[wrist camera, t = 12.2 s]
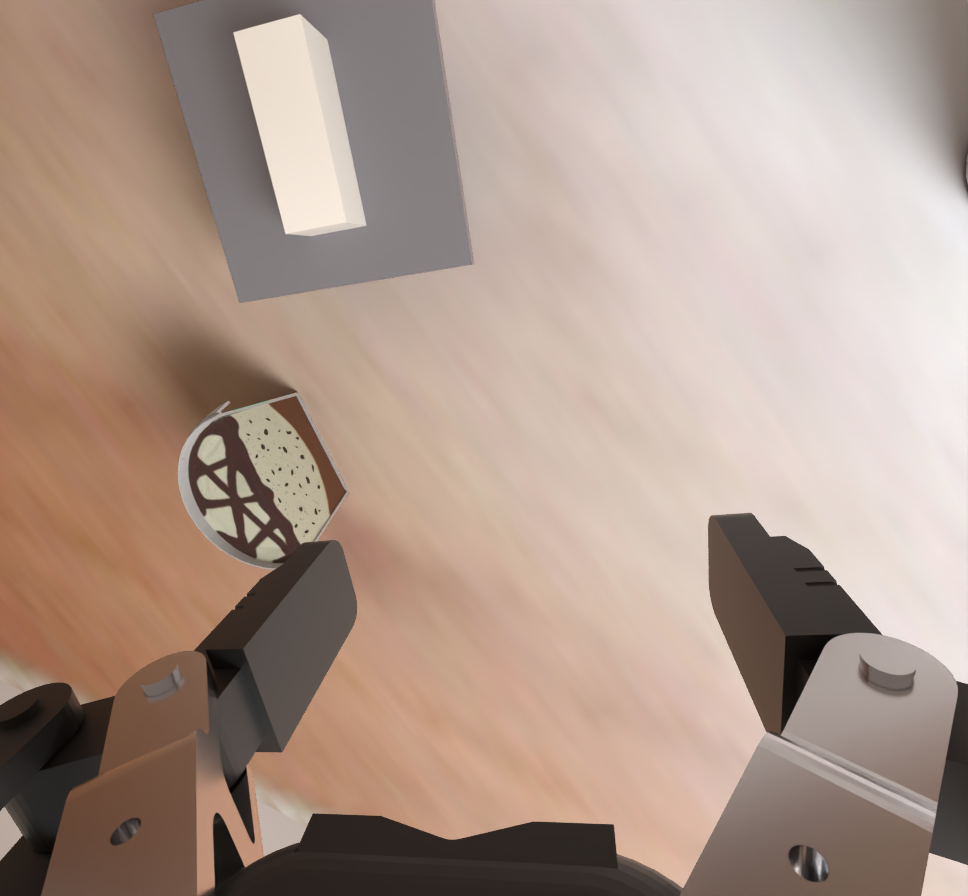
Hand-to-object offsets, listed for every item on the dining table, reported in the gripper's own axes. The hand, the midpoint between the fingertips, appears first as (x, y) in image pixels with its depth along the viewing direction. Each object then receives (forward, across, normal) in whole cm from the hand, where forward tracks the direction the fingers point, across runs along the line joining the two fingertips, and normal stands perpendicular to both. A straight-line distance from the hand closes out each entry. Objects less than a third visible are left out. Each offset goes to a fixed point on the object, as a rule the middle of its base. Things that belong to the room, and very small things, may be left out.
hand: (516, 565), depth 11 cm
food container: (+28, +22, +6) cm, 36 cm away
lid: (+22, +11, -14) cm, 28 cm away
